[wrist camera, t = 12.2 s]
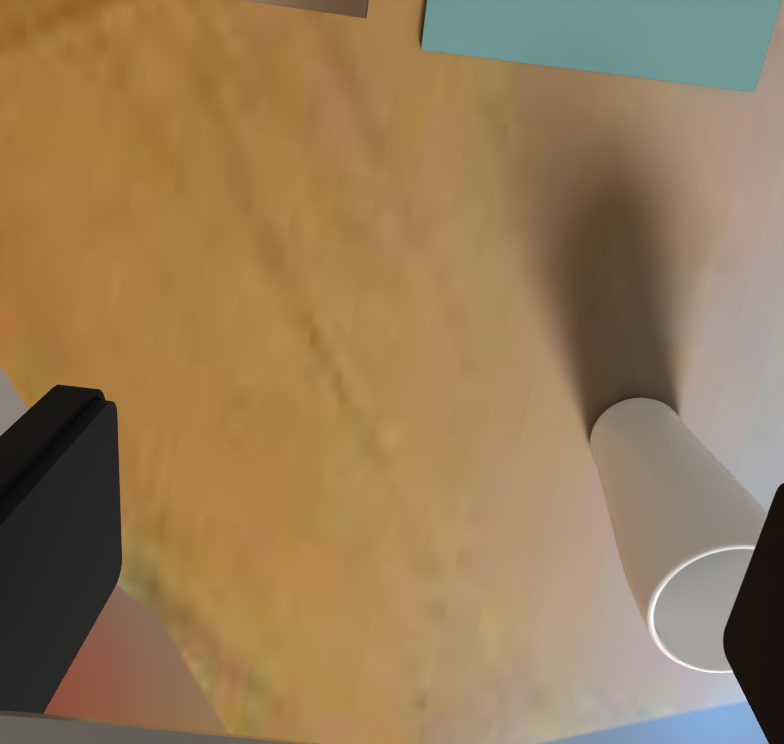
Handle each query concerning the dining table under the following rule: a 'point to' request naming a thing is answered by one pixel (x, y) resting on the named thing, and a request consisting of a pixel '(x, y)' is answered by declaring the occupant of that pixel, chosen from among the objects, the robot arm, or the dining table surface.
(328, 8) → the walnut cover
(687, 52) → the teal mat
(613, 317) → the dining table surface
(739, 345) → the dining table surface
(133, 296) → the dining table surface
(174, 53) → the dining table surface
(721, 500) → the drinking glass
